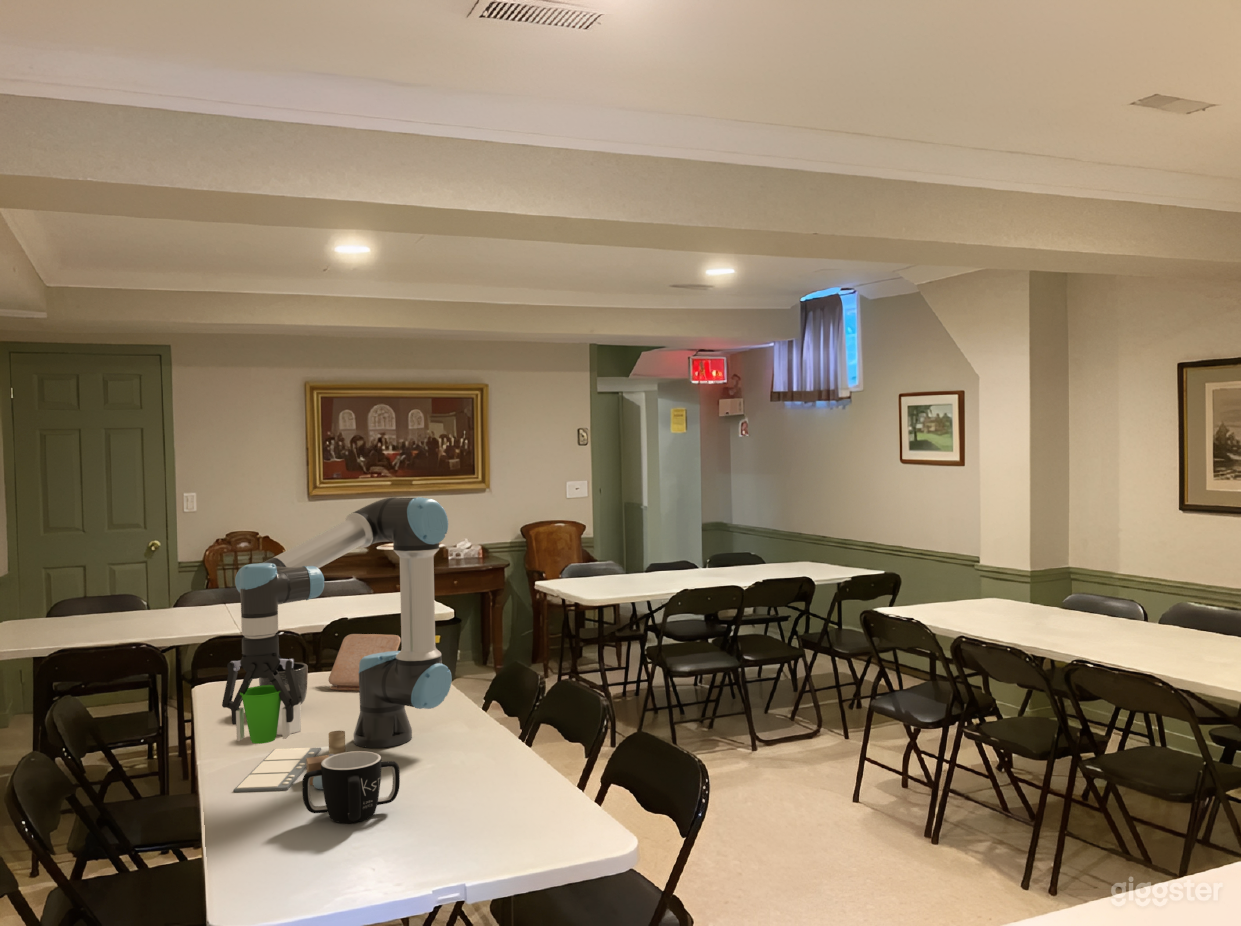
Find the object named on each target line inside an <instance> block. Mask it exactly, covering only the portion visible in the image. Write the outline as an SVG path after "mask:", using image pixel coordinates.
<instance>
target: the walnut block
mask: <svg viewBox="0 0 1241 926" xmlns="http://www.w3.org/2000/svg"><path fill="white" fill-rule="evenodd" d="M328 757H329V754H328V755H327V754H326V755H320V756H319V755H317V756H316V757H310V758H306V767H307V768H306V773H307V772H310V771H315V770H320V769H321V763H322V761H323V760H324V759H326V758H328ZM313 778H314V777H311V778H310V786H314V785H313Z"/></svg>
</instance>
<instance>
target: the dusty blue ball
mask: <svg viewBox="0 0 1241 926" xmlns="http://www.w3.org/2000/svg"><path fill="white" fill-rule="evenodd" d="M312 786H314V788H316V789H317V790H323V787H322V777H321V776H317V777H314V778H313V785H312Z"/></svg>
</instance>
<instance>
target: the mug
mask: <svg viewBox="0 0 1241 926" xmlns="http://www.w3.org/2000/svg"><path fill="white" fill-rule="evenodd" d="M384 768H391V772H392V785H391V791H390V793H389V795H386V796H382V797H380V789H381V782H382V781H381V780H382V769H384ZM317 776H321V777H322V787H323V789H322V792H323V798H324V803H325V805H314V804H313V802H312V800H311V785H310V778H311V777H317ZM400 776H401V775H400V766H399V764H398V763H397V762H396V761H394V760H391V761H389V760H387V761H385V760H384V761H382V756H381V755H380V754H379V753H376V752H372V751H363V750H361V751H360V750H356V751H348V752H347V751H345V753H340V754H336V755H333V756H330V757H328V758H326V759H324V760H323V761H322V763H321V769H320V770H315V771H310V772H307V771H306V772H305V773H304V775H303V777H302V780H301V781H302V782H301V783H302V785H301V787H302V788H301V791H302V800H303V805H304V807H306V809H307V811H308V812H309V813H312V814H325V813H328V816H329V818H330V820H331V821H333V822H336V823H341V824H351V823H359V822H362V821H366V820H368V819H370V818H371V817H373V815H375V813H376V810H377V807H378V806H380V805H386V804H391V803H393V801H394V800H395V799H396V798H397V795H398V794H399V792H400V785H401V784H400V783H401V782H400V781H401V779H400V778H401V777H400Z"/></svg>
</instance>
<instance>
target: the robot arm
mask: <svg viewBox="0 0 1241 926" xmlns="http://www.w3.org/2000/svg"><path fill="white" fill-rule="evenodd" d="M448 531H449V519H448V515H447V512H446V510H445V508H444V507H443V506H442V505H441V503H439V502H438V501H437V500H436V499H433V498H427V497H420V496H417V497H386V498H382V499H379V500H376V501H374V502H372V503H370V504H367V505H365V506H363V507H361V508H359V509H357V510H355V511H353V512H351V513H349V514H348V515H347V516H346V518H345V520H344V521H342V522H340V523H338V524H336V525H334V526H333V527H330V528H328V529H327V530H325V531H323V532H321V533H319V534H316V535H315V536H312V537H311V538H308V539H307V540H305V541H303V542H301V543H299V544H297V545H294V546H293V547H291V548H289V549H287V550H286V551H284V552H281V553H279V554H278V555H275V556H274V557H272V558H269V559H267V560H265V561H263V562H259V563H250V564H246V565H243V566H242V567H240V568H239V569H238V571H237V573H236V575H235V577H234V584H235V588H236V590H237V591H238V593H239V594H240V596H239V597H240V615H241V617H240V620H241V624H240V626H241V635H242V636H243V637H242V638H241V654H242V657H241V659H240V660H235V659H234V660H231V661H230V662H228V663H227V665H226V667H227V673H228V674H227V678H226V684H225V689H224V694H223V698H222V701H221V702H222V703H221V706H222V708H223V709H225V708H227V709H229V710H230V711H231V724H232V725H233V726H234V725H235V727H236V728H235V730H236V741H237V742H240V741H242V740H243V739H244V738H245V710H244V706H243V707H241V705H242V703H243V700H242V695H240V692H241V693H243V695H244V694H245V693H246V692H247V690H248V688H250V685H251V684H252V681H253V680H254V679H256V680H257V679H259V678H268V679H269V680H270V682H272V684H273V686H274V687H275V689H276V691H277V692H278V691H281V692H279V696H280V698H281V700H282V702H283V703H284V705H285V706H284V707H283V708H282V735H281V736H282V739H283V740H287V738H289V736H290V735H291V734H290V729H289V722H292V721H293V719H294V712H293V707H294V706H295V705H298V704H299V703H300V702H301V701H302V697H301V693H300V690H299V686H298V682H297V679H296V675H295V671H294V662H295V658H292V657H291V658H290V657H289V659H288V658H282V657H281V655H280V646H279V645H280V644H279V641H280V640H279V635H278V634H277V633H278V632H279V605H283V604H288V603H295V602H301V601H309V600H311V599H315V598H318V597H320V595H321V594H322V593H323V591H324V589H325V577H324V574H323V572H322V571H321V569H320V568H322V567H324V566H325V565H328V564H329V563H331V562H334V561H335V560H336V559H338V558H341V557H343V556H344V555H347V554H348V553H350V552H351V551H354V550H355V549H357V548H359V547H360V548H367V547H370V546H371V545H373V544H377V543H382V542H383V543H385V542H391V543H392V545H393V552H394V553H395V554H396V555H397V556H398V557H399V584H400V585H399V586H400V587H399V588H400V591H399V593H400V626H401V627H400V634H401V635H400V636H401V637H400V639H401V642H400V643H401V650H397V651H390V652H382V653H376V654H372V655H368V656H365V657H363V658H362V659H361V660H360V663H359V672H358V673H359V691H358V693H359V694H358V695H359V714H358V719H357V721H356V725H355V728H354V732H353V743H354V744H355V745H356V746H357V747H361V748H369V749H373V748H374V749H375V748H376V749H377V748H378V749H379V748H390V747H395V746H396V747H397V746H399V745H402V744H405V743H407V742H409V741H411V739H413V729H412V728H413V727H412V725H411V722H410V720H409V717H408V715H407V712H406V707H410V708H415V709H419V710H421V709H422V710H423V709H424V710H430V709H434V708H436V707H439V706H440V705H441V704H442V703H443V702H444V701H445V699H446V697H447V696H448V694H449V693H450V690H451V686H452V682H453V681H452V678H453V677H452V672H451V670H450V669H449V667H448V666H447V665H445V664H443V663H442V662H443V658H442V652H441V651H440V650H438V648H437V647H436V618H435V617H436V615H435V612H436V611H435V609H436V607H435V606H436V605H435V573H434V571H435V570H434V569H435V567H434V564H435V563H434V559H435V558H434V556H435V554H436V553H437V552H438V551H440V543H441V542H442V541H443V540H444V539H445V538H446V534H448ZM280 664H281V665H282V666H283V669H285V673H286V677H287V681H288V685H289V688H290V692H291V696H292V698H291V696H290V694H289V692H288V691H287V689H286V687H285V685H284V683H283V682H282V680H281V678H280V675H279V673H278V671H277V668H278V667H279V665H280ZM241 667H242V669H243V670H244V671H245V672H246V673H245V675H244V677H243V679H242V682H241V684H240V686H239V689H238V691H237V693H236V695H235V697H234V692H235V687H236V683H237V679H238V671H240V668H241ZM233 697H234V699H233ZM405 706H406V707H405Z"/></svg>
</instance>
